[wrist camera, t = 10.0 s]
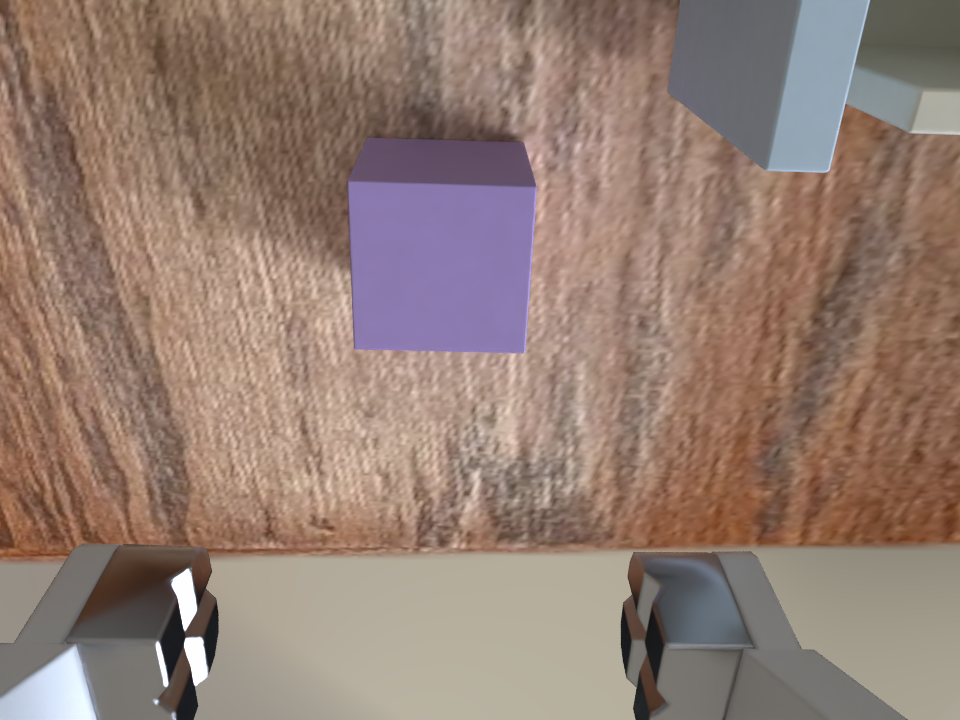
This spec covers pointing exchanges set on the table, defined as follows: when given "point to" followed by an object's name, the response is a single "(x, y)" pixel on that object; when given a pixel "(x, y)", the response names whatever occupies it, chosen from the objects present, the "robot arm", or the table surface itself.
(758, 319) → the table surface
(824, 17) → the drawer
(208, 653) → the robot arm
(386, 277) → the purple cube
